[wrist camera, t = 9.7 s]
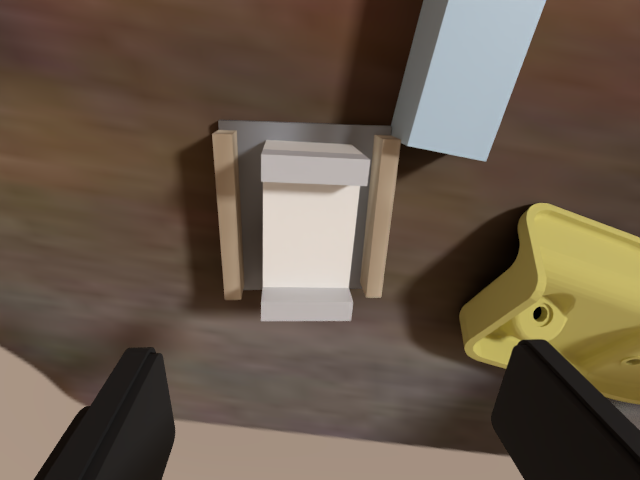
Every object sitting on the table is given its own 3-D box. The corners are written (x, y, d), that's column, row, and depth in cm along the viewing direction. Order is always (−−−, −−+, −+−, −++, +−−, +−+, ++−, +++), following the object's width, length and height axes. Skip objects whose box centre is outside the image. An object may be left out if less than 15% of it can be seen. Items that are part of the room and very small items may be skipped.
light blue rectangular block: (523, -61, 18) (582, -99, 15) (453, 149, 22) (485, 161, 19) (444, -86, 18) (486, -133, 14) (386, 136, 22) (407, 145, 18)
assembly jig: (389, 125, 21) (402, 130, 19) (371, 283, 25) (380, 303, 23) (219, 119, 20) (211, 123, 18) (231, 285, 24) (225, 306, 22)
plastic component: (450, 353, 26) (557, 279, 19) (439, 274, 31) (520, 193, 24) (664, 414, 29) (829, 371, 21) (622, 333, 34) (744, 276, 27)
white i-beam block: (351, 144, 21) (370, 159, 16) (338, 277, 24) (350, 320, 20) (266, 139, 20) (261, 154, 16) (265, 276, 24) (260, 321, 19)
